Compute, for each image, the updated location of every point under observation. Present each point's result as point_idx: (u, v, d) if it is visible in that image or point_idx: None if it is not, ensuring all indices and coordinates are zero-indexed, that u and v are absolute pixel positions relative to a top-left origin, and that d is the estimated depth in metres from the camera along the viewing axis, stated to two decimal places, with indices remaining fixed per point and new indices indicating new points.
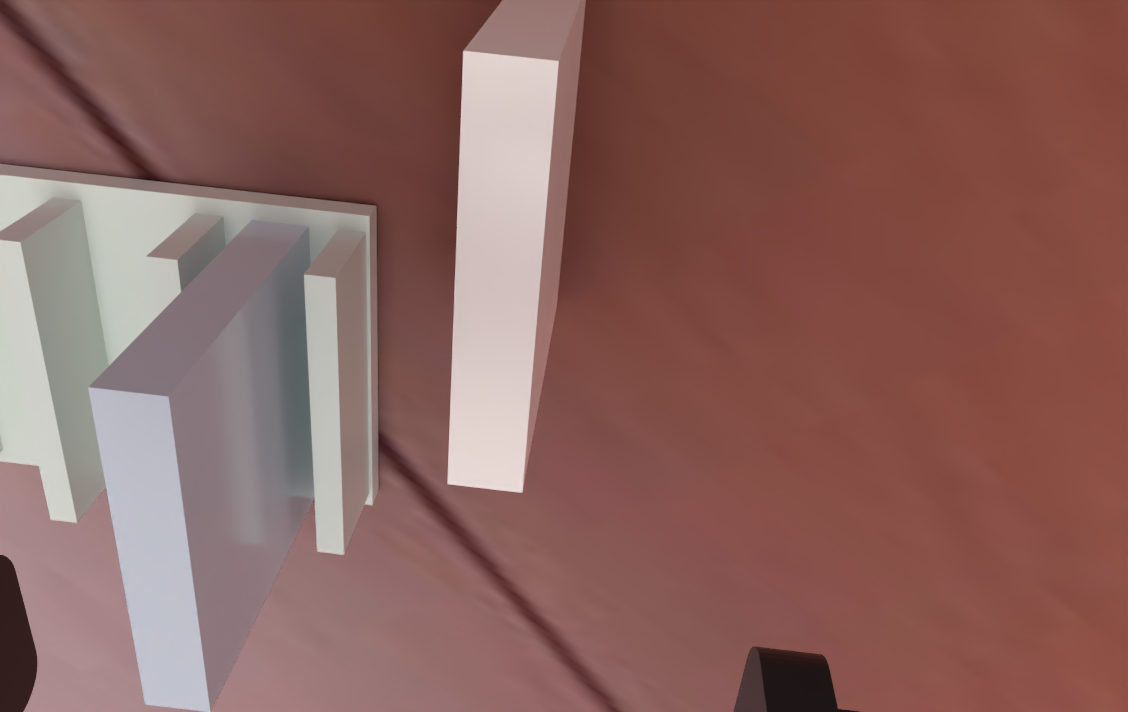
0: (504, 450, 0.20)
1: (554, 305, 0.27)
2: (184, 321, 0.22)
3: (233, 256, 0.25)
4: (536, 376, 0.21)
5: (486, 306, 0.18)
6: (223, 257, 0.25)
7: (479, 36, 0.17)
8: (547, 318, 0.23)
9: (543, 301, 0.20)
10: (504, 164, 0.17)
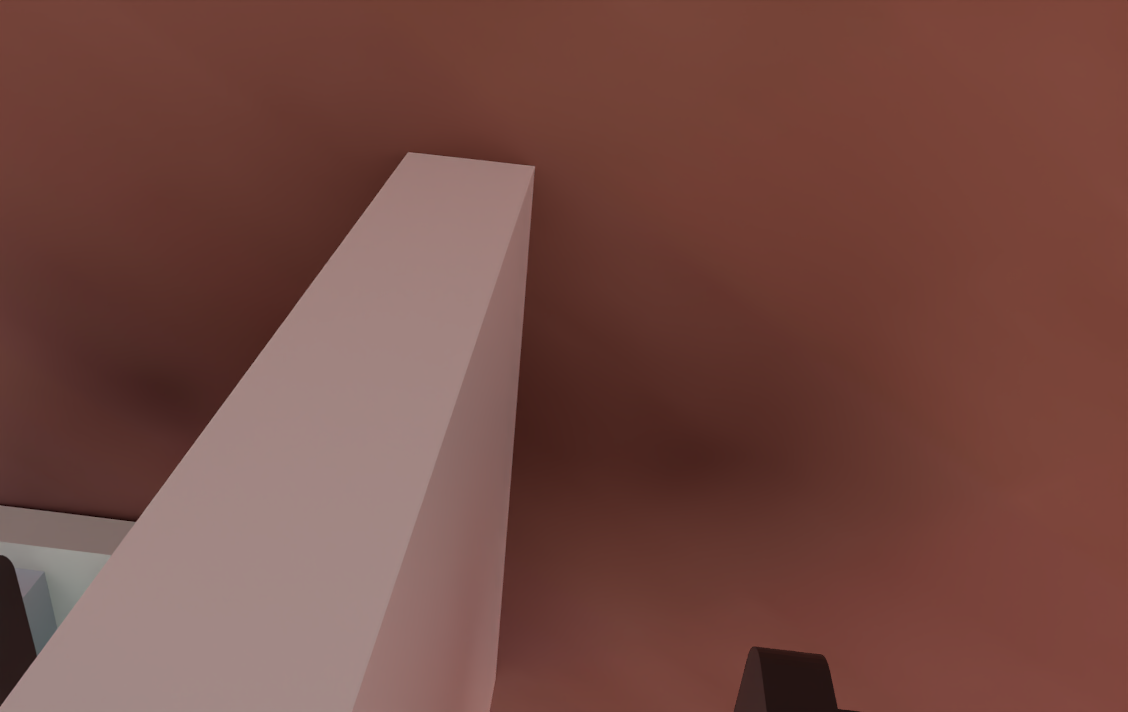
0: None
1: None
2: None
3: None
4: None
5: None
6: None
7: (119, 567, 0.05)
8: None
9: None
10: None
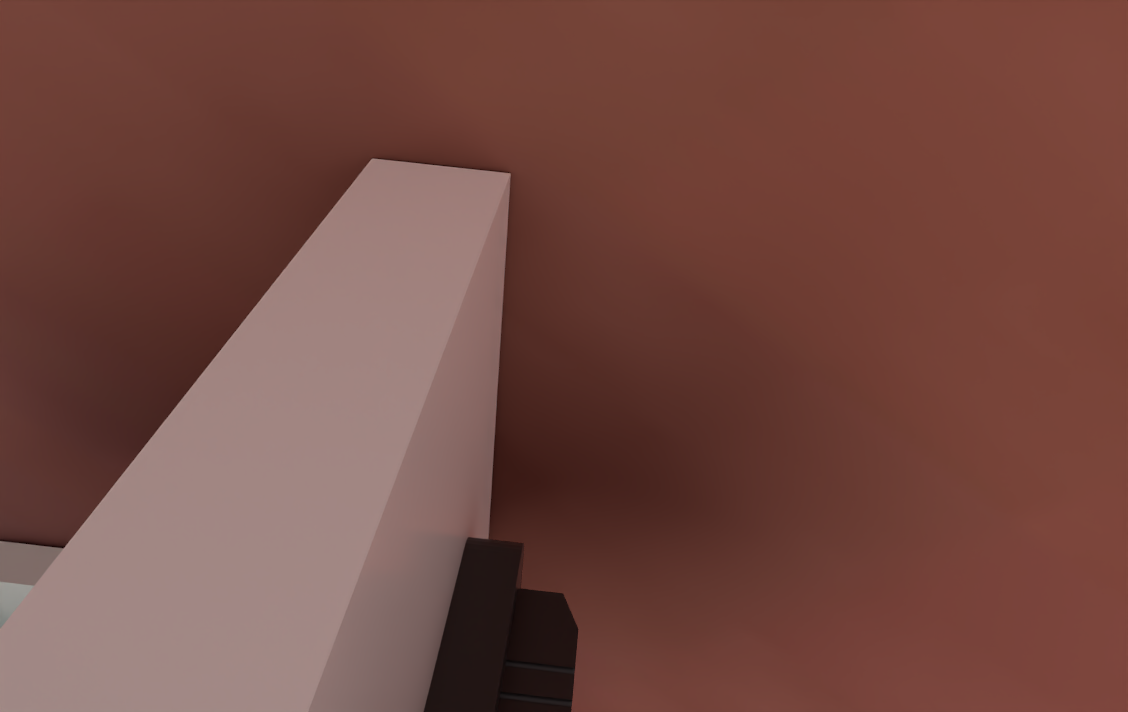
0: None
1: None
2: None
3: None
4: None
5: None
6: None
7: None
8: None
9: None
10: None
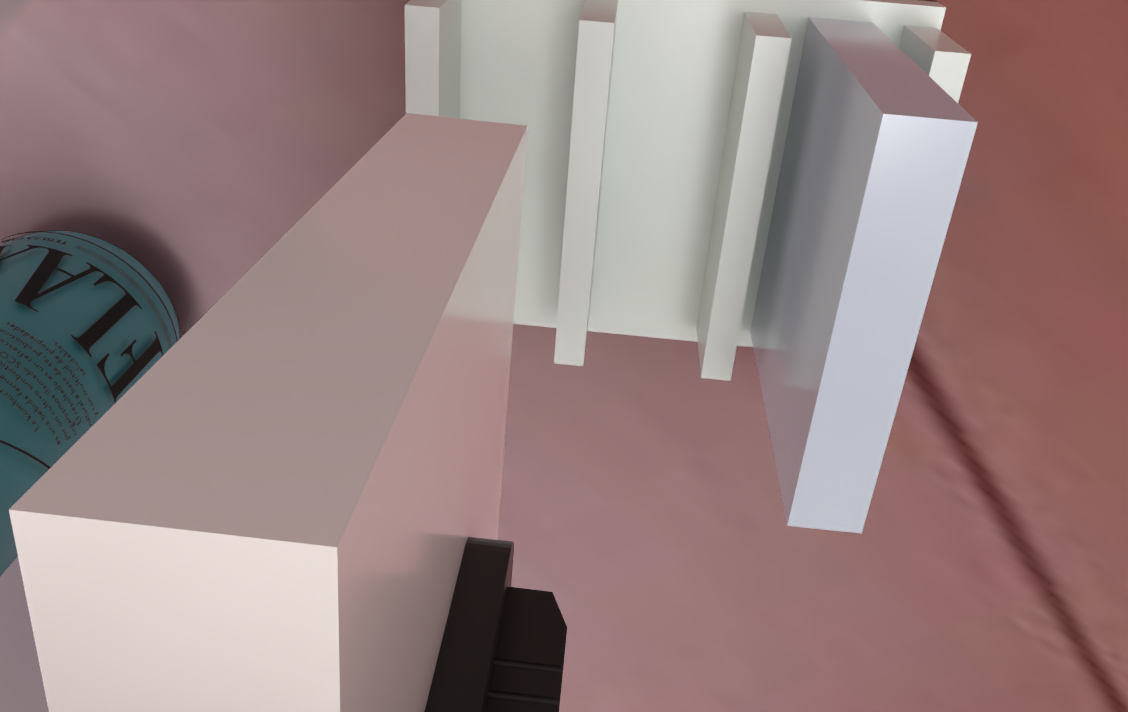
0: None
1: None
2: (885, 75, 0.19)
3: (841, 38, 0.22)
4: None
5: None
6: (833, 38, 0.22)
7: (142, 391, 0.06)
8: None
9: None
10: None
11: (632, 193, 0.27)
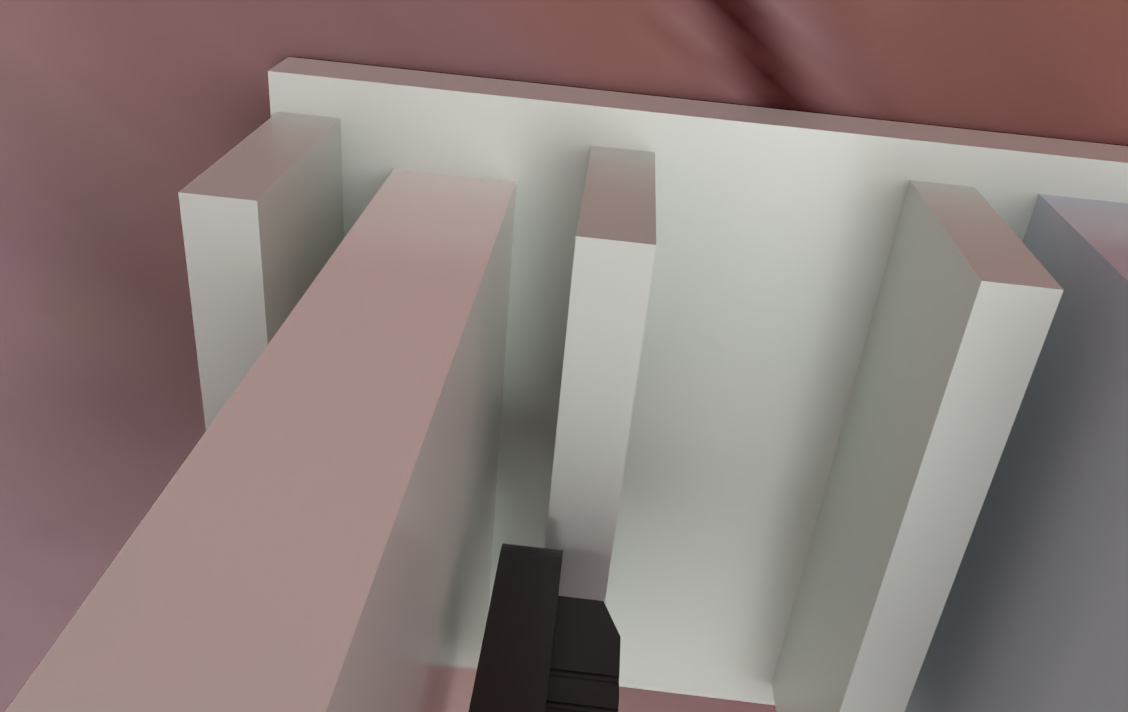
0: None
1: None
2: None
3: None
4: None
5: None
6: None
7: (110, 585, 0.06)
8: None
9: None
10: None
11: (668, 482, 0.15)
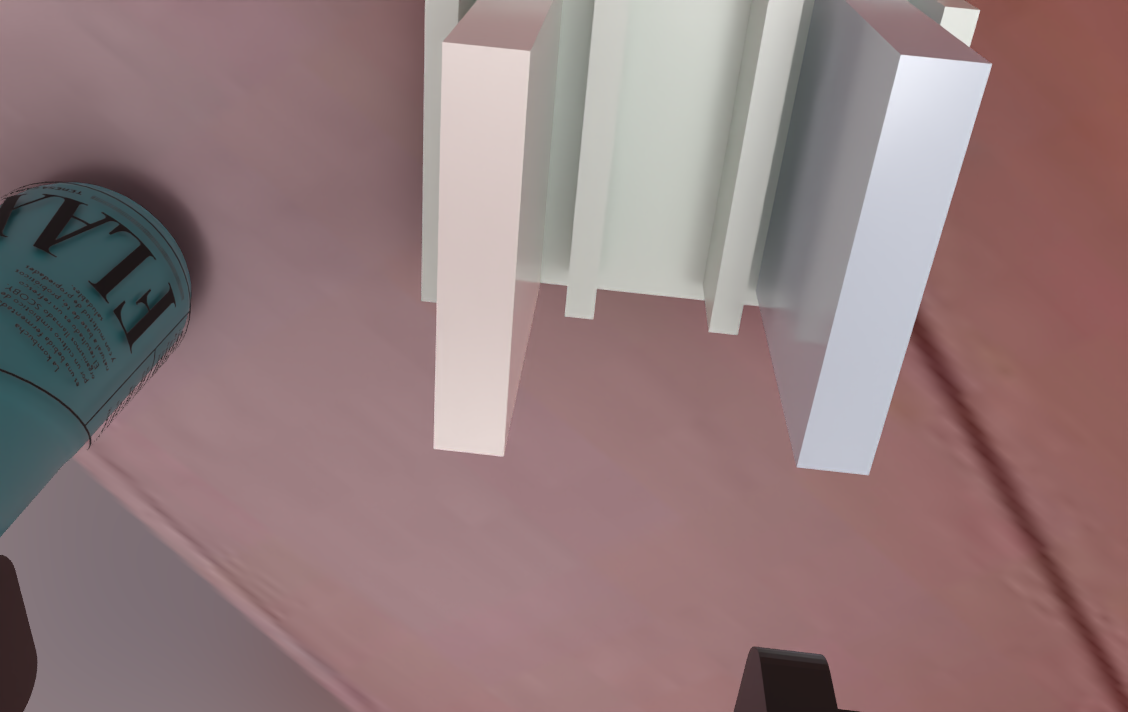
0: (487, 416, 0.21)
1: (536, 284, 0.28)
2: (899, 24, 0.20)
3: None
4: (516, 347, 0.22)
5: (467, 280, 0.20)
6: None
7: (458, 28, 0.19)
8: (528, 294, 0.24)
9: (522, 276, 0.22)
10: (481, 147, 0.18)
11: (642, 150, 0.27)
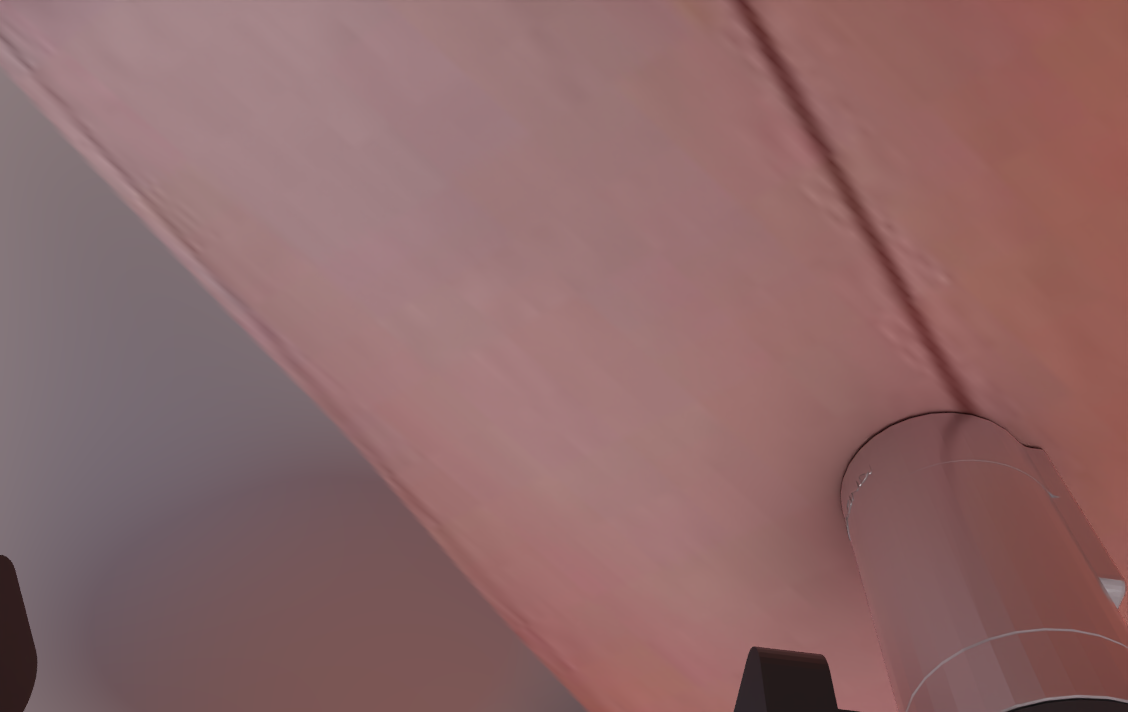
0: None
1: None
2: None
3: None
4: None
5: None
6: None
7: None
8: None
9: None
10: None
11: None
